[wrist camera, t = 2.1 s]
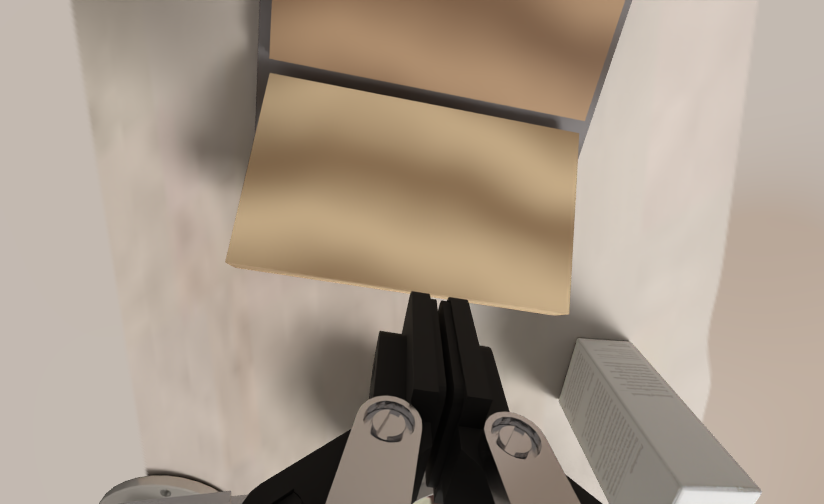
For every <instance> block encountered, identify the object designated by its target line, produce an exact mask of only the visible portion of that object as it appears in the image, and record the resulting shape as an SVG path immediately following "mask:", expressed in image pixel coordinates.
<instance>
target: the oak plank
mask: <svg viewBox="0 0 824 504" xmlns="http://www.w3.org/2000/svg"><path fill="white" fill-rule="evenodd" d="M578 146H579V133H575V132H570V131H565V130H560V129H555V128H550V127H545V126H540V125H534V124H529V123H524V122H519V121H514V120H509V119H504V118H499V117H493V116H488V115H483V114H478V113H473V112H468V111H463V110H458V109H452V108H447V107H442V106H437V105H432V104H427V103H422V102H417V101H411V100H406V99H401V98H396V97H391V96H386V95H381V94H375V93H370V92H365V91H360V90H355V89H350V88H345V87H340V86H334V85H329V84H324V83H319V82H314V81H309V80H304V79H299V78H293V77H288V76H283V75H278V74H273V73H270V74H269V78H268V82H267V87H266V91H265V95H264V99H263V104H262V108H261V112H260V116H259V121H258V125H257V129H256V133H255V138H254V142H253V146H252V151H251V155H250V159H249V163H248V168H247V172H246V176H245V180H244V185H243V189H242V193H241V197H240V202H239V206H238V210H237V215H236V219H235V223H234V227H233V232H232V236H231V240H230V244H229V249H228V253H227V257H226V261H225V262H226V263H227V264H229V265H231V266H233V267H235V268H241V269H248V270H254V271H261V272H268V273H274V274H281V275H288V276H294V277H301V278H308V279H314V280H321V281H328V282H334V283H341V284H348V285H354V286H361V287H368V288H374V289H381V290H388V291H394V292H401V293H408V294H410V293H411V291H415V292H422V293H428V294H430V297H434V298H441V299H448V298H449V297H454V298H460V299H466V300H468V302H469V303H474V304H481V305H488V306H494V307H501V308H508V309H514V310H521V311H528V312H534V313H541V314H548V315H554V316H555V315H566V314H569V306H570V289H571V271H572V253H573V235H574V218H575V200H576V182H577V164H578Z"/></svg>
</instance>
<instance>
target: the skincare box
mask: <svg viewBox="0 0 824 504" xmlns="http://www.w3.org/2000/svg"><path fill="white" fill-rule="evenodd" d="M559 403H560V405H561V407H562V409H563V411H564V413H565V415H566V417H567V419H568V421H569V424H570V426H571V428H572V430H573V432H574V434H575V436H576V438H577V440H578V442H579V444H580V446H581V448H582V450H583V452H584V454H585V456H586V458H587V460H588V462H589V464H590V466H591V468H592V470H593V472H594V474H595V476H596V478H597V480H598V482H599V484H600V486H601V488H602V490H603V492H604V494H605V496H606V498H607V500H608V502H609V504H755V503H756V501H757V499H758V498H759V497H760V495H761V493H762V491H761V489H760V488H759V487H758V486H757V485H756V484H755V483H754V482H753V480H752V479H751V478H750V477H749V476H748V474H747V473H746V472H745V471H744V470H743V469H742V468H741V467H740V465H739V464H738V463H737V462H736V461H735V460H734V459H733V457H732V456H731V455H730V454H729V453H728V452H727V451H726V450H725V448H724V447H723V446H722V445H721V444H720V443H719V442H718V441H717V439H716V438H715V437H714V436H713V435H712V434H711V432H710V431H709V430H708V429H707V428H706V427H705V426H704V424H703V423H702V422H701V421H700V420H699V419H698V418H697V417H696V415H695V414H694V413H693V412H692V411H691V410H690V409H689V407H688V406H687V405H686V404H685V403H684V402H683V400H682V399H681V398H680V397H679V396H678V395H677V394H676V393H675V391H674V390H673V389H672V388H671V387H670V386H669V385H668V384H667V382H666V381H665V380H664V379H663V378H662V377H661V375H660V374H659V373H658V372H657V371H656V370H655V369H654V368H653V366H652V365H651V364H650V363H649V362H648V361H647V360H646V358H645V357H644V356H643V355H642V354H641V353H640V352H639V350H638V349H637V348H636V347H635V346H634V345H633V344H632V343H631V342H629V341H614V340H598V339H584V338H578V339H577V341H576V345H575V348H574V352H573V355H572V358H571V362H570V365H569V369H568V372H567V375H566V378H565V382H564V385H563V388H562V392H561V395H560V398H559Z"/></svg>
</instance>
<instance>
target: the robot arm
mask: <svg viewBox="0 0 824 504" xmlns="http://www.w3.org/2000/svg"><path fill="white" fill-rule="evenodd" d="M424 473H425V478H426V486H427V487H431V488H433V495H434V503H439V504H602V503H601V502H600V501H598V500H597V499H596V498H594V497H593V496H592V495H591V494H589V493H588V492H587V491H586V490H584V489H583V488H582V487H581V486H579V485H578V484H577V483H576V482H574V481H573V480H572V479H570V478H569V477H568V476H567V475H565V473H564V471H563V469H562V467H561V465H560V464H559V462H558V460H557V458H556V456H555V454H554V452H553V450H552V448H551V446H550V445H549V443H548V441H547V439H546V437H545V435H544V434H543V433H542V431H541V430H540V429H539V428H538V427H537V426H536V425H535V424H534V423H533V422H532V421H530V420H528V419H527V418H525V417H524V416H521V415H518V414H516V413H511V412H509V408H508V405H507V402H506V398H505V395H504V391H503V388H502V384H501V381H500V377H499V374H498V370H497V367H496V363H495V360H494V356H493V353H492V350H491V348H489V347H485V346H479V342H478V338H477V334H476V330H475V326H474V322H473V318H472V314H471V310H470V306H469V302H468V300H466V299H460V298H454V297H449V298H448V299H447V301H441V302H440V305H439V309H437V301H436V300H435V299H431V298H430V294H428V293H422V292H415V291H411V293H410V297H409V302H408V307H407V311H406V316H405V321H404V326H403V330H402V334H397V333H391V332H384V331H380V332H379V336H378V341H377V347H376V352H375V358H374V364H373V371H372V378H371V386H370V394H369V400H367V401H366V402H365V403H364V404H362V405H361V407H360V409H359V410H358V412H357V415H356V417H355V420H354V423H353V426H352V429H350V430H349V431H347V432H345V433H344V434H342V435H340V436H339V437H337V438H335V439H334V440H332V441H330V442H329V443H327V444H326V445H324V446H322V447H321V448H319V449H317V450H316V451H314V452H312V453H311V454H309V455H307V456H306V457H304V458H302V459H301V460H299V461H298V462H296V463H294V464H293V465H291V466H289V467H288V468H286V469H284V470H283V471H281V472H279V473H278V474H276V475H275V476H273V477H271V478H270V479H268V480H266V481H265V482H263V483H261V484H260V485H259V486H257V487H256V488H255V489H254V490H252V491H251V492H250V493H249V495H240V496H231V491H224V492H219V491H217V490H215V489H213V488H212V487H210V486H207V485H205V484H202V483H200V482H197V481H194V480H190V479H186V478H182V477H175V476H161V475H153V476H145V477H138V478H135V479H131V480H128V481H125V482H123V483H121V484H119V485H117V486H115V487H113V489H111V490H110V491H109V492H107V493H106V494H105V496H104V497H103V499H102V500H101V501H100V503H99V504H413V503H414V502H415V501H416V500H417V497H418V493H419V490H420V486H421V483H422V480H423V477H424Z"/></svg>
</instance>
